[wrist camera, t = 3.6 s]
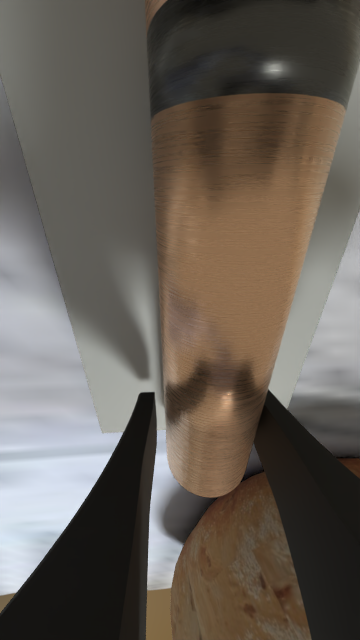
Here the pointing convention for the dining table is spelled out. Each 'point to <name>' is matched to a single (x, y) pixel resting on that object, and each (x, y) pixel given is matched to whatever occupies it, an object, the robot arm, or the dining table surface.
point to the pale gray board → (130, 193)
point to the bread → (240, 571)
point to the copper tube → (236, 202)
